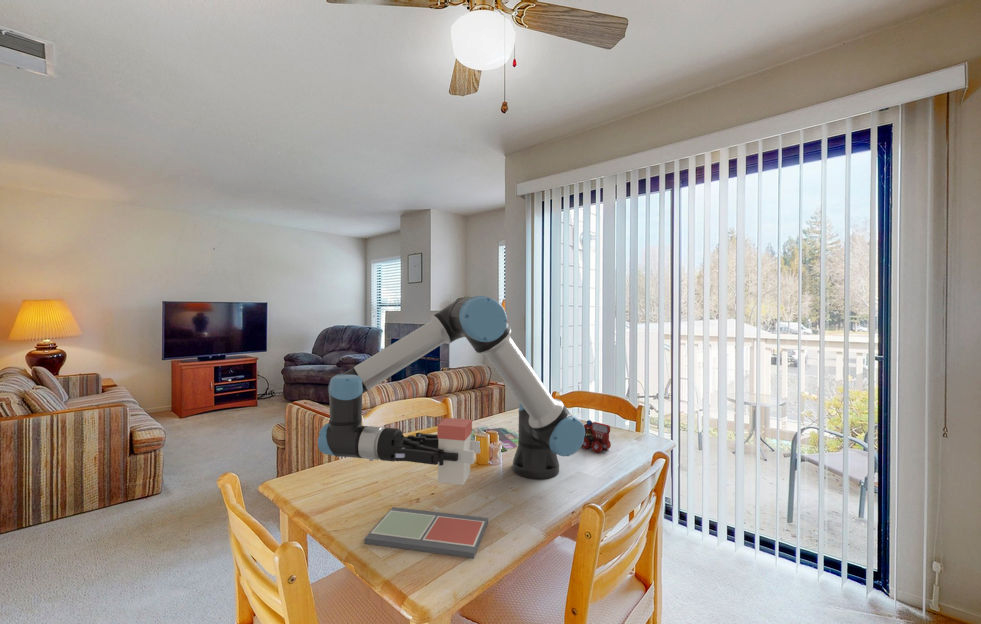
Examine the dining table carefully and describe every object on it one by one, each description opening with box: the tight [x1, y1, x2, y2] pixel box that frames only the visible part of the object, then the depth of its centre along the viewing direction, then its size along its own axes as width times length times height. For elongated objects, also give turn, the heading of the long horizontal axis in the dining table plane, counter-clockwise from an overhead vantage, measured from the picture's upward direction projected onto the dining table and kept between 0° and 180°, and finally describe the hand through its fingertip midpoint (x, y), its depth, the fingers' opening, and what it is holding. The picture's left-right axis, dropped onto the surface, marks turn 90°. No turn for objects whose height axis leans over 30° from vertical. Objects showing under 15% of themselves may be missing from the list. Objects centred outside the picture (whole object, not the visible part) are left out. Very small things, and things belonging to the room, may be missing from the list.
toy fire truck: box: [581, 419, 611, 454], centre depth 160 cm, size 7×12×10 cm, turn 41°
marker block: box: [436, 417, 473, 486], centre depth 98 cm, size 6×6×13 cm
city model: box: [471, 425, 519, 453], centre depth 166 cm, size 25×23×6 cm
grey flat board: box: [364, 506, 489, 559], centre depth 100 cm, size 25×15×1 cm, turn 79°
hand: (476, 452), depth 97 cm, fingers closed on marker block, 6 cm apart
